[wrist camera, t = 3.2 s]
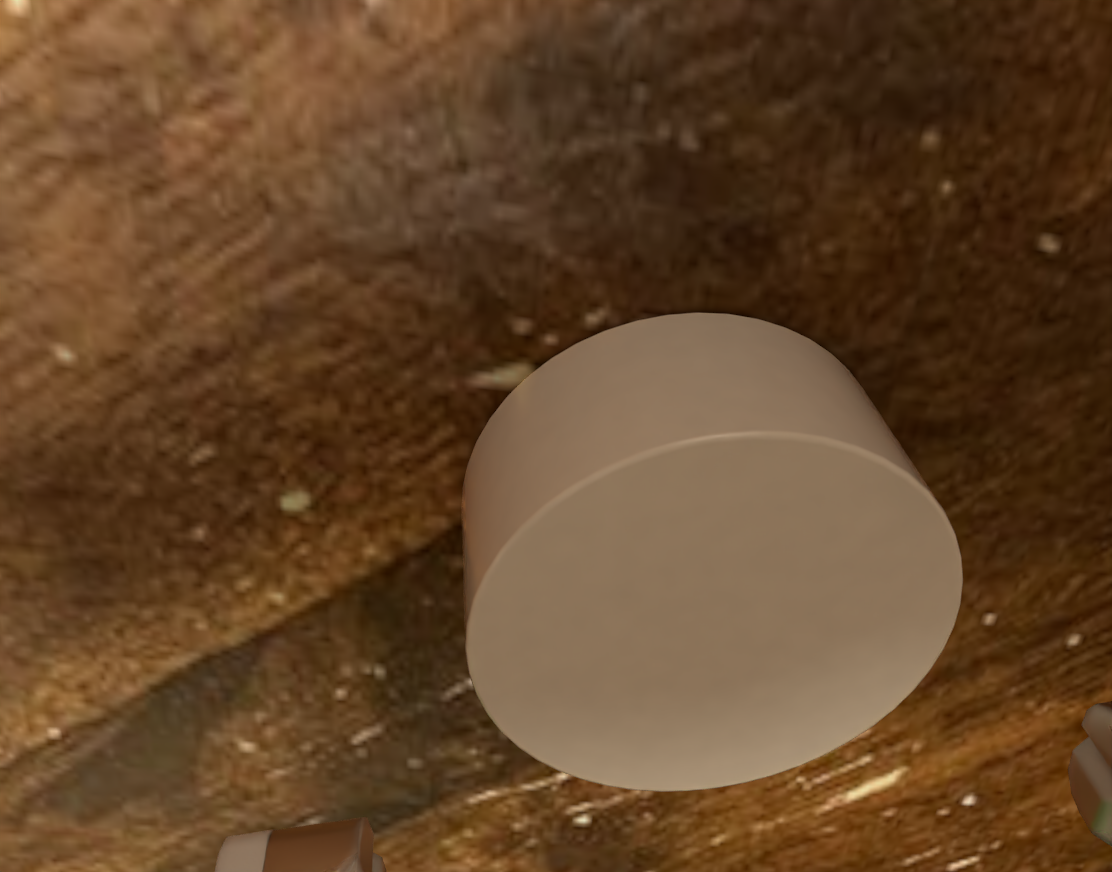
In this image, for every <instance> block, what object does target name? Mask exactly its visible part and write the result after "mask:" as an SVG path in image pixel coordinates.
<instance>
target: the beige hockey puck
mask: <svg viewBox="0 0 1112 872" xmlns="http://www.w3.org/2000/svg"><path fill="white" fill-rule="evenodd" d="M461 510H462V548H463V585H464V623H465V650H466V658H467V666H468V672H469V675H470V678H471V681H472V684H473V687H474V690H475V693H476V694H477V696H478V698H479V700H480V702H481V704H482V705H483V707H484V709H485V711H486V713H487V714H488V715H489V717H490V718H491V719H492V720H493V722H494V723H495V724H496V725H497V727H498V728H499V729H500V730H501V732H502V733H504V734H505V735H506V736H507V737H508V738H509V739H510V740H511V741H512V742H513V743H514V744H516V745H517V746H518V747H519V748H521V749H522V750H524V751H525V752H526V753H528V754H529V755H531V756H532V757H534V758H535V759H537V760H538V761H540V762H542V763H544V764H546V765H548V766H550V767H552V768H554V769H556V770H558V771H561V772H563V773H566V774H569V775H572V776H574V777H577V778H580V779H582V780H586V781H590V782H594V783H598V784H602V785H606V786H612V787H618V788H625V789H632V790H644V791H661V792H663V791H693V790H702V789H712V788H719V787H725V786H730V785H736V784H741V783H746V782H750V781H754V780H757V779H761V778H765V777H769V776H772V775H775V774H778V773H781V772H784V771H787V770H789V769H792V768H795V767H798V766H801V765H803V764H805V763H807V762H810V761H812V760H814V759H816V758H819V757H821V756H823V755H825V754H827V753H829V752H831V751H833V750H835V749H836V748H838V747H840V746H842V745H844V744H846V743H848V742H849V741H851V740H853V739H854V738H856V737H857V736H859V735H860V734H862V733H863V732H865V731H866V730H868V729H869V728H871V727H872V726H874V725H875V724H876V723H877V722H879V721H880V720H881V719H882V718H884V717H885V716H886V715H887V714H889V713H890V712H891V711H892V710H894V709H895V708H896V707H897V706H898V705H899V704H900V703H901V702H902V701H903V700H904V699H905V698H906V697H907V696H908V695H909V694H910V693H911V692H912V691H913V690H914V689H915V688H916V687H917V685H918V684H919V683H920V682H921V681H922V679H923V678H924V677H925V676H926V675H927V673H928V672H929V671H930V669H931V668H932V666H933V665H934V663H935V662H936V660H937V659H938V657H939V655H940V654H941V652H942V651H943V649H944V647H945V645H946V643H947V640H948V638H949V636H950V634H951V632H952V630H953V627H954V624H955V621H956V617H957V614H958V610H959V607H960V602H961V593H962V585H963V574H962V560H961V552H960V548H959V545H958V541H957V537H956V534H955V531H954V529H953V527H952V525H951V523H950V521H949V519H948V517H947V515H946V513H945V511H944V509H943V508H942V506H941V505H940V503H939V502H938V500H937V499H936V497H935V496H934V494H933V493H932V491H931V490H930V488H929V487H928V485H927V484H926V482H925V481H924V479H923V478H922V476H921V475H920V473H919V472H918V470H917V469H916V467H915V466H914V464H913V463H912V461H911V460H910V458H909V457H908V455H907V454H906V452H905V451H904V449H903V448H902V446H901V445H900V443H899V442H898V440H897V439H896V437H895V436H894V434H893V433H892V431H891V430H890V428H889V427H888V425H887V424H886V422H885V421H884V419H883V418H882V416H881V415H880V413H879V412H878V410H877V409H876V407H875V406H874V404H873V403H872V401H871V400H870V398H869V397H868V395H867V394H866V392H865V391H864V389H863V388H862V386H861V385H860V384H859V383H858V381H857V380H856V379H855V377H854V376H853V375H852V373H851V372H850V371H849V370H848V369H847V368H846V367H845V366H844V365H843V364H842V363H841V362H840V361H839V360H838V359H837V358H835V357H834V356H833V355H832V354H831V353H830V352H828V351H827V350H825V349H824V348H822V347H821V346H819V345H818V344H816V343H815V342H813V341H812V340H810V339H809V338H806V337H804V336H802V335H800V334H798V333H796V332H794V331H792V330H789V329H787V328H785V327H782V326H779V325H776V324H772V323H769V322H766V321H763V320H759V319H756V318H750V317H744V316H738V315H732V314H723V313H700V312H696V313H682V314H669V315H662V316H657V317H652V318H647V319H642V320H636V321H633V322H630V323H627V324H623V325H620V326H617V327H614V328H611V329H607V330H605V331H602V332H600V333H598V334H596V335H593V336H591V337H589V338H587V339H584V340H582V341H580V342H578V343H576V344H574V345H573V346H571V347H569V348H567V349H566V350H564V351H562V352H561V353H559V354H557V355H556V356H554V357H552V358H551V359H549V360H548V361H547V362H546V363H544V364H543V365H542V366H540V367H539V368H538V369H536V370H535V371H534V372H532V373H531V374H530V375H528V376H527V377H526V378H525V379H524V380H523V381H522V382H521V383H520V384H519V385H518V386H517V387H516V388H515V389H514V390H513V391H512V392H511V393H510V394H509V395H508V396H507V397H506V399H505V400H504V401H503V402H502V404H501V405H500V406H499V408H498V409H497V410H496V411H495V413H494V414H493V415H492V416H491V418H490V419H489V421H488V423H487V424H486V426H485V428H484V430H483V431H482V433H481V435H480V437H479V438H478V440H477V442H476V445H475V447H474V450H473V452H472V455H471V457H470V460H469V462H468V465H467V470H466V474H465V479H464V483H463V491H462V509H461Z"/></svg>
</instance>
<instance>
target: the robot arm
mask: <svg viewBox="0 0 1112 872" xmlns="http://www.w3.org/2000/svg"><path fill="white" fill-rule="evenodd" d="M1082 726H1083V728H1084V729H1085V731H1086V732H1087V734H1088V735H1089V737H1088V738H1087V739H1086V740H1084V741H1083V742H1082V743H1081V744H1080V745H1079V746H1077V747H1076V748H1075V749H1074V750H1073V752H1072V756H1071V760H1070V764H1069V767H1068V773H1069V780H1070V787H1071V793H1072V795H1073V798H1074V800H1075V803H1076V805H1077V808H1078V810H1079V813H1080V814H1081V816H1082V818H1083V819H1084V821H1085V823H1086V824H1087V826H1088V828H1089V829H1090V831H1091V833H1092V834H1094V835H1095V836H1097V837H1098V838H1100V839H1101V840H1103V841H1104V842H1106V843H1107V844H1109V845H1111V846H1112V701H1110V702H1104V703H1099V704H1095V705H1094V706H1092V707H1091V708H1089V709H1088V710H1087V711H1086V714H1085V717H1084V720H1083V722H1082ZM373 837H374V834H373V831H372V829H371V826H370V824H369V821H368V819H367V817H363V818H356V819H349V820H342V821H335V822H328V823H321V824H314V825H307V826H300V827H293V828H286V829H279V830H268V831H261V832H255V833H249V834H242V835H236V836H230V837H226V839H225V841H224V843H223V845H222V848H221V850H220V852H219V854H218V858H217V863H216V869H215V872H386V868H385V865H384V862H383V859H382V857H380V856H379V855H377V854H375V853H373Z"/></svg>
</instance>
